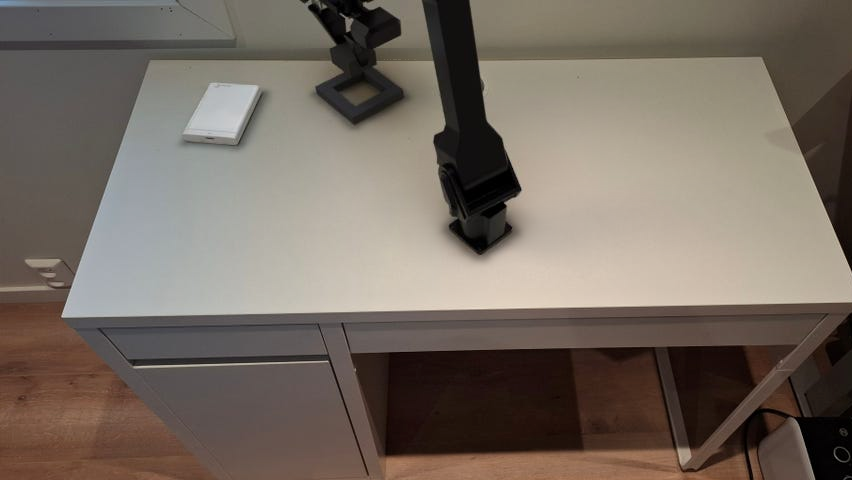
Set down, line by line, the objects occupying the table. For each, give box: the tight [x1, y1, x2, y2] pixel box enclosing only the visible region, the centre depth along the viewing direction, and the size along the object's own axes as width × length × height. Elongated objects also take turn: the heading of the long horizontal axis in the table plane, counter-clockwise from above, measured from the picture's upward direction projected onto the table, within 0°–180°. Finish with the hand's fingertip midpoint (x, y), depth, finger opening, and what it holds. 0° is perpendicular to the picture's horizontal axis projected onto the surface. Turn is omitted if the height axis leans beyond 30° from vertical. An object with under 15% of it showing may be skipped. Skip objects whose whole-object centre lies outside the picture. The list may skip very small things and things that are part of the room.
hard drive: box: [182, 82, 263, 146], centre depth 94 cm, size 2×8×12 cm
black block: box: [328, 41, 378, 78], centre depth 93 cm, size 5×5×2 cm
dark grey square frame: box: [314, 66, 405, 126], centre depth 98 cm, size 10×10×2 cm
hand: (354, 57), depth 93 cm, fingers closed on black block, 5 cm apart
